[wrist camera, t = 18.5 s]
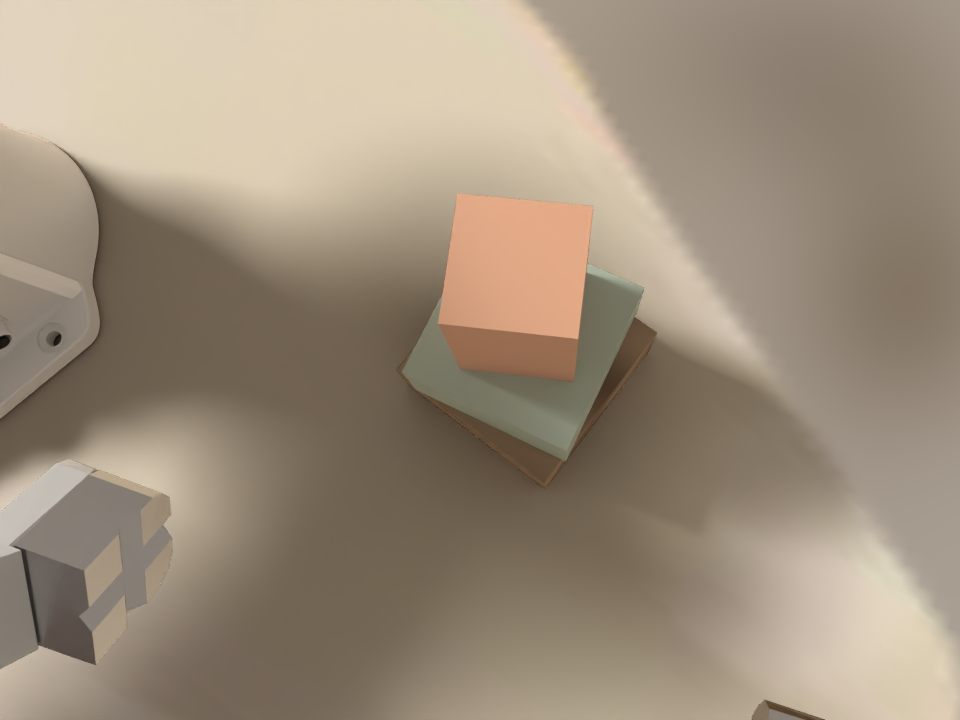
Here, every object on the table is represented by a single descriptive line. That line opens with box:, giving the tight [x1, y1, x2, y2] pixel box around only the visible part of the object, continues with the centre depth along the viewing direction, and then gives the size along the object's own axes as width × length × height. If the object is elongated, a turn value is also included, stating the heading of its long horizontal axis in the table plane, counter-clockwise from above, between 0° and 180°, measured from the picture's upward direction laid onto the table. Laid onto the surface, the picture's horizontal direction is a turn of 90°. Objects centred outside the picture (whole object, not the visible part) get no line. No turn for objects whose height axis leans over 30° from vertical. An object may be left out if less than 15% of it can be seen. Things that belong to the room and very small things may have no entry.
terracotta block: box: [438, 194, 593, 382], centre depth 36 cm, size 5×5×8 cm
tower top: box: [402, 263, 644, 462], centre depth 41 cm, size 8×8×4 cm
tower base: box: [397, 317, 657, 489], centre depth 45 cm, size 9×9×4 cm
